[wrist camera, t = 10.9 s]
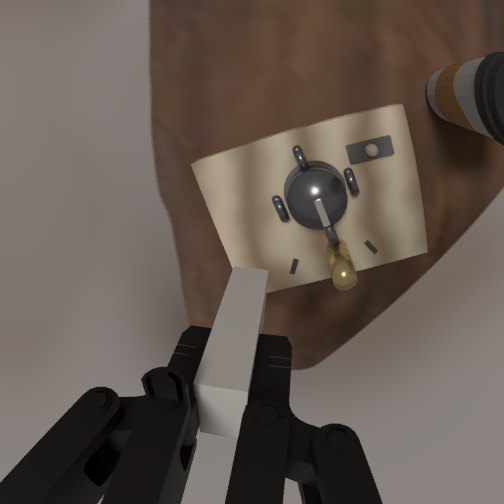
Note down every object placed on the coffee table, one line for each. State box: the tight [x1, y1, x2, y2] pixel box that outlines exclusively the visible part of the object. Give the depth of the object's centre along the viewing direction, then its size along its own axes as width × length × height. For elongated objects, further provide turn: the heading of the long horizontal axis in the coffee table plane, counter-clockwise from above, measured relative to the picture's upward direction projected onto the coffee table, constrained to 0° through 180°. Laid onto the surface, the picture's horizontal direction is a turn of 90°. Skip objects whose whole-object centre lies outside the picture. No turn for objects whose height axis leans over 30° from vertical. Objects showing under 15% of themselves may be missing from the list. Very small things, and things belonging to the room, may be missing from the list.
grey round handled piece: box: [272, 145, 360, 291], centre depth 30 cm, size 14×9×7 cm, turn 25°
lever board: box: [191, 104, 428, 293], centre depth 35 cm, size 24×18×4 cm
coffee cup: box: [427, 52, 504, 145], centre depth 21 cm, size 8×8×15 cm
